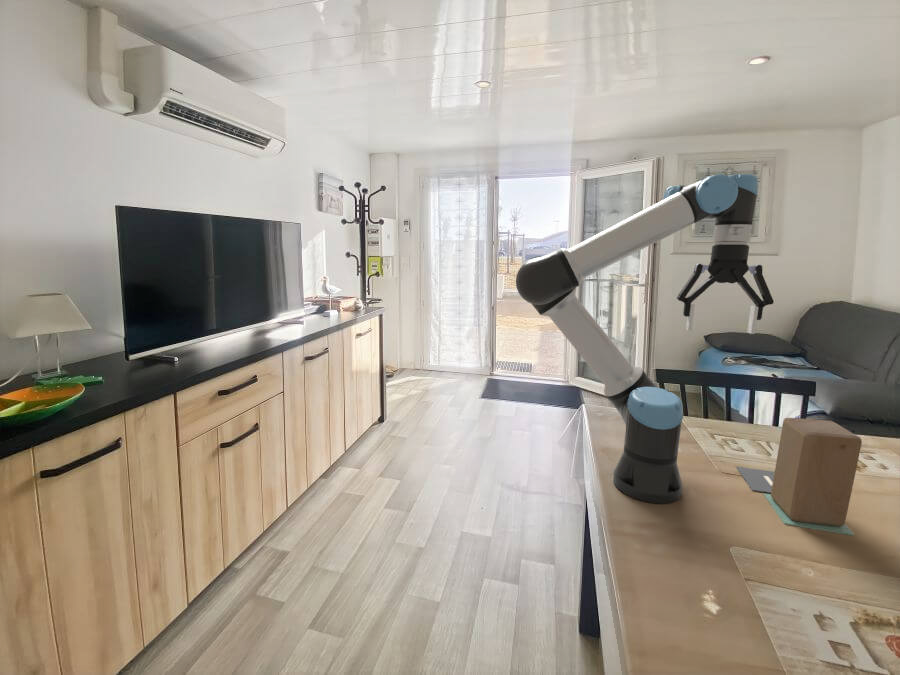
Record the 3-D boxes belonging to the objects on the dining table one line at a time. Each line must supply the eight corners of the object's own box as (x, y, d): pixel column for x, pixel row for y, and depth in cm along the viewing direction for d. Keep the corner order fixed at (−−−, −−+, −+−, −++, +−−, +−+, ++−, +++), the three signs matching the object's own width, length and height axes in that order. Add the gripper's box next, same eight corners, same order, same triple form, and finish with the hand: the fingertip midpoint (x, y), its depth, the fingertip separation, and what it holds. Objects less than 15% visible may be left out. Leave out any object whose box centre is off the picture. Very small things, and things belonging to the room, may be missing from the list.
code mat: (751, 490, 105) (752, 489, 105) (736, 467, 116) (736, 466, 116) (843, 504, 99) (843, 502, 99) (817, 478, 111) (818, 477, 111)
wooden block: (846, 529, 90) (865, 438, 86) (791, 522, 92) (807, 433, 88) (817, 502, 100) (833, 419, 96) (768, 496, 102) (781, 415, 98)
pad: (784, 524, 92) (784, 522, 92) (763, 494, 103) (763, 493, 103) (854, 535, 88) (854, 534, 88) (824, 503, 100) (824, 502, 100)
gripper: (675, 243, 105) (666, 330, 109) (799, 243, 97) (784, 337, 101) (670, 243, 112) (661, 325, 116) (785, 244, 104) (772, 331, 108)
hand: (719, 331), depth 109 cm, fingers open, 13 cm apart
